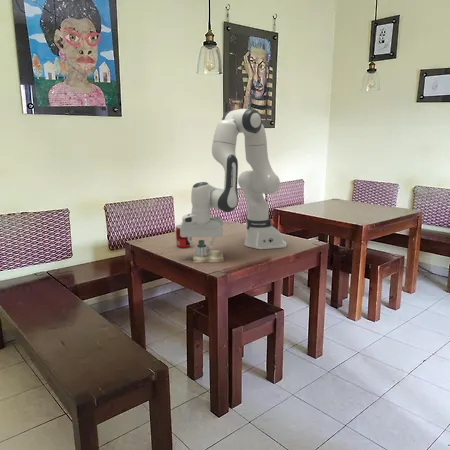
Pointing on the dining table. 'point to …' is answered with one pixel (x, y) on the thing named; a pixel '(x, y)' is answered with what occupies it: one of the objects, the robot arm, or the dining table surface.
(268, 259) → the dining table surface
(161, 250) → the dining table surface
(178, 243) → the canned food
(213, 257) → the green peg on board
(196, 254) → the grey segmented ring
